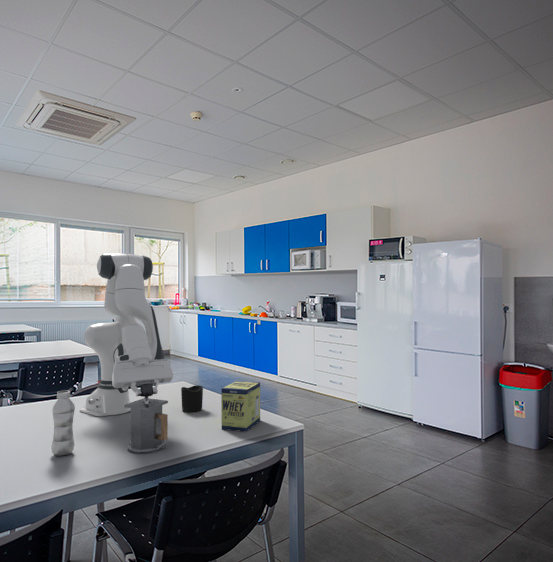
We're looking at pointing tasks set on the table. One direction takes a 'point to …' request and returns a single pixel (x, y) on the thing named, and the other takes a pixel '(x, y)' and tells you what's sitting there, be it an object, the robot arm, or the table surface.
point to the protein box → (240, 405)
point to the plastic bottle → (63, 424)
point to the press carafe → (147, 426)
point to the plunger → (146, 391)
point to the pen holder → (192, 399)
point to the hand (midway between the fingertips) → (147, 394)
